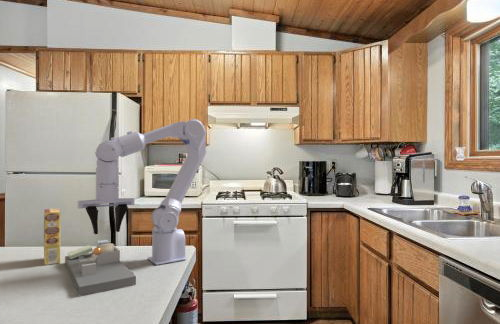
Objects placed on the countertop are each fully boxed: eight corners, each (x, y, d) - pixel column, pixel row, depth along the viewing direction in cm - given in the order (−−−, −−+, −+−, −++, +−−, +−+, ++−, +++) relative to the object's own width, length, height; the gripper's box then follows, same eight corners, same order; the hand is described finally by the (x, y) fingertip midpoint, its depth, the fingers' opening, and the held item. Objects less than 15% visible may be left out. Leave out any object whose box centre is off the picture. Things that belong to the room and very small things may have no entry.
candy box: (60, 263, 94) (61, 211, 94) (43, 265, 91) (44, 212, 92) (59, 256, 101) (59, 208, 101) (43, 258, 99) (43, 209, 99)
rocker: (90, 247, 97) (89, 244, 97) (92, 250, 93) (91, 247, 93) (68, 256, 93) (67, 252, 93) (70, 259, 90) (69, 256, 90)
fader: (106, 251, 99) (106, 239, 99) (109, 253, 96) (109, 241, 96) (96, 252, 97) (96, 240, 97) (98, 255, 94) (98, 243, 94)
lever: (89, 269, 81) (102, 247, 83) (91, 272, 79) (104, 250, 80) (81, 267, 80) (94, 244, 82) (83, 269, 78) (97, 247, 80)
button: (112, 252, 92) (112, 242, 92) (115, 255, 89) (115, 245, 89) (97, 254, 90) (98, 244, 90) (100, 257, 87) (100, 247, 87)
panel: (108, 256, 101) (108, 240, 101) (135, 284, 76) (136, 263, 77) (64, 263, 94) (65, 246, 94) (79, 296, 70) (79, 273, 70)
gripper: (130, 182, 97) (129, 227, 97) (76, 184, 89) (75, 233, 89) (136, 183, 92) (136, 231, 91) (79, 185, 83) (79, 237, 83)
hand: (106, 232), depth 90 cm, fingers open, 5 cm apart
